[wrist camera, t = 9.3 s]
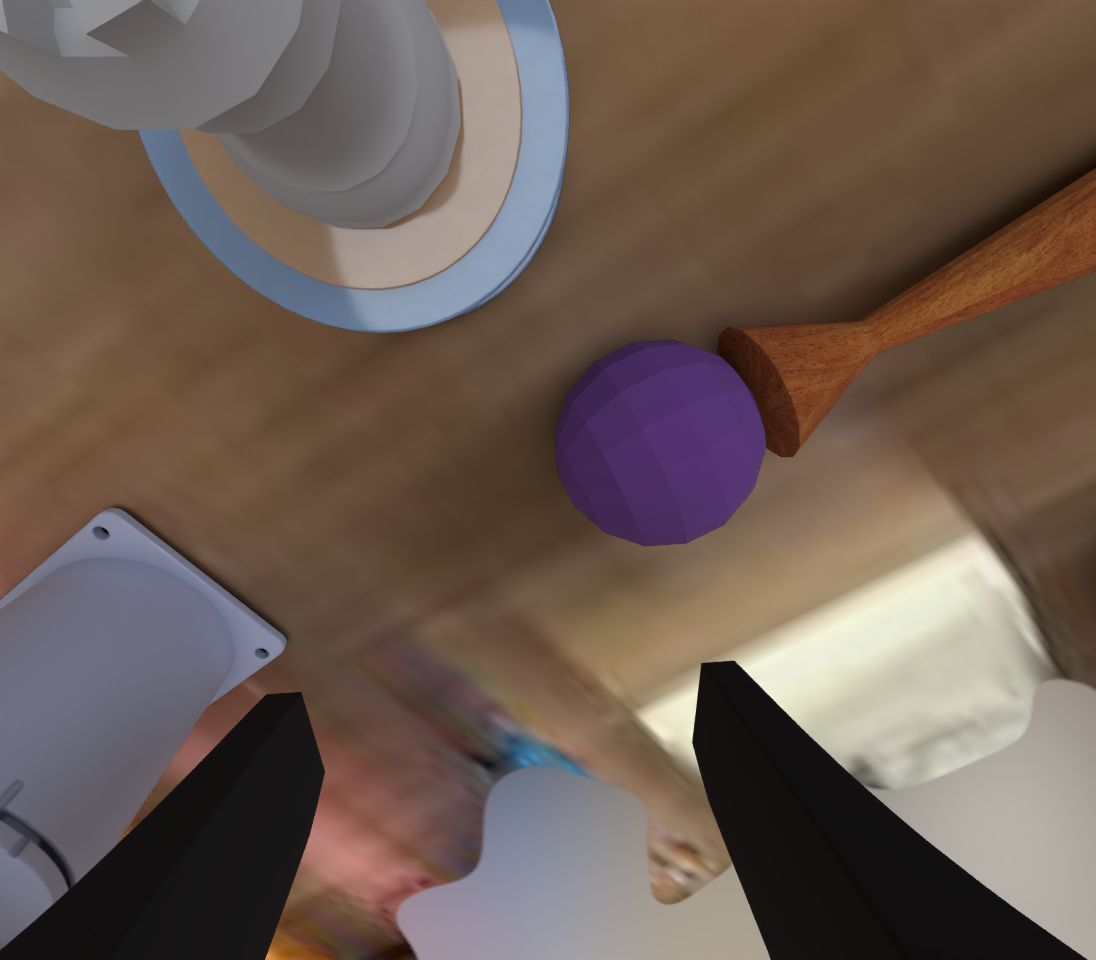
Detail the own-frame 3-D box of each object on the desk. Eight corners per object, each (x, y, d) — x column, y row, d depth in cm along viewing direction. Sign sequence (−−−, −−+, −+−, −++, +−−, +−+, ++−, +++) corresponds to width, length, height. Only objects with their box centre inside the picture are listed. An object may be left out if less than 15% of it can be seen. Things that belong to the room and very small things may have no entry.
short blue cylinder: (391, 381, 17) (351, 427, 13) (141, 103, 14) (-28, 38, 10) (627, 189, 15) (673, 166, 11) (405, -185, 12) (347, -430, 8)
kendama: (1305, 291, 14) (631, 619, 15) (1072, 255, 19) (576, 503, 20) (1426, 19, 11) (548, 464, 12) (1105, 60, 16) (507, 371, 17)
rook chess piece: (287, 252, 11) (-121, 263, 4) (182, -12, 9) (-931, -894, 2) (488, 203, 11) (450, 122, 4) (423, -75, 9) (111, -1232, 2)
